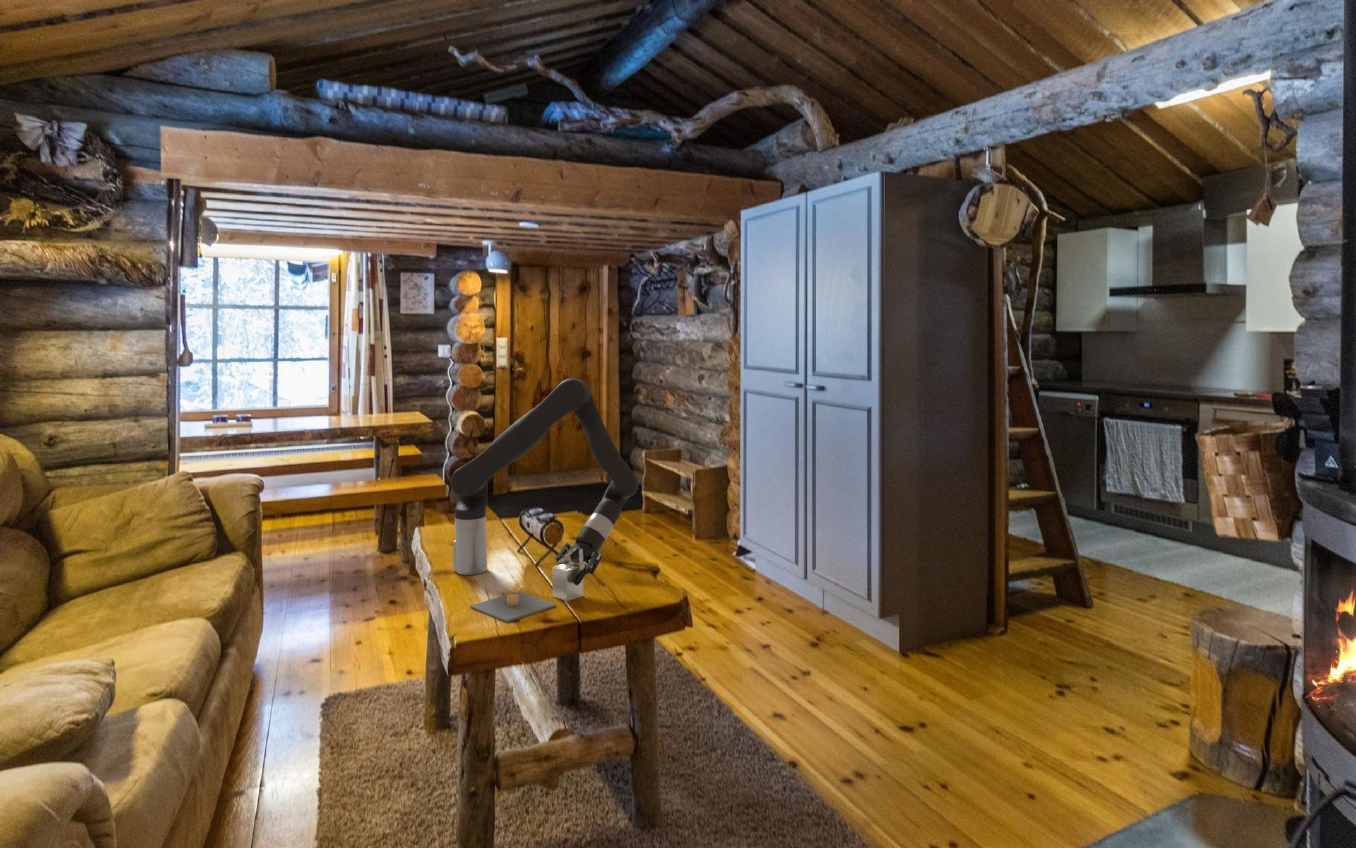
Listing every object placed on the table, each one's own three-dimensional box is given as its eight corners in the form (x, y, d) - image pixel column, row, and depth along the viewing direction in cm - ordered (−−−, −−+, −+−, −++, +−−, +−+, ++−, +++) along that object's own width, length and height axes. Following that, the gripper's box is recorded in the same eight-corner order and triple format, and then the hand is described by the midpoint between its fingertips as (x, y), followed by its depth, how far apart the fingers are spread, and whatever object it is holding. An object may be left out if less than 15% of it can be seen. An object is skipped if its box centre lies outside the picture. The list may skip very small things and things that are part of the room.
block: (552, 596, 214) (552, 566, 213) (569, 591, 219) (568, 562, 218) (566, 601, 210) (566, 571, 210) (583, 596, 215) (583, 566, 214)
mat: (470, 607, 205) (470, 596, 205) (519, 593, 217) (519, 582, 217) (506, 622, 195) (506, 610, 194) (555, 606, 206) (555, 595, 206)
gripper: (571, 521, 223) (540, 568, 216) (605, 529, 214) (574, 579, 206) (585, 535, 227) (555, 582, 220) (618, 544, 218) (589, 593, 211)
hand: (564, 580), depth 213 cm, fingers open, 8 cm apart
